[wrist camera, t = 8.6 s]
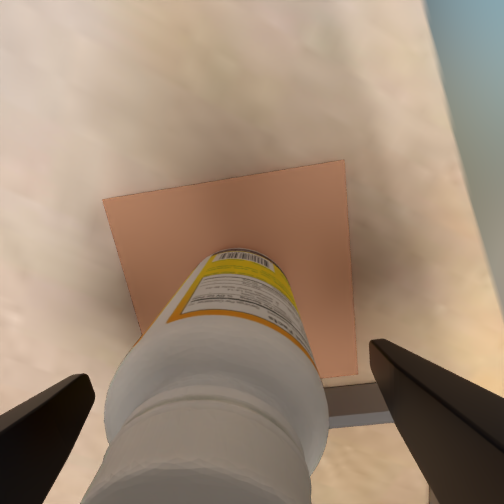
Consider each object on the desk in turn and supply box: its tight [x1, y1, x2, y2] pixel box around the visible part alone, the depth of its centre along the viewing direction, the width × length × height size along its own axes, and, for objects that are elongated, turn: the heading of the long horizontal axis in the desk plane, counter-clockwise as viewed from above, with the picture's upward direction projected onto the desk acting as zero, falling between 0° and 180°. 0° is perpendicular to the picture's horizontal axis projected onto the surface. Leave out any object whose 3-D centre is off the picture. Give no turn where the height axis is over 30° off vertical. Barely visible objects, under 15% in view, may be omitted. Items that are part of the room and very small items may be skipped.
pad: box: [102, 160, 358, 378], centre depth 14 cm, size 12×12×1 cm
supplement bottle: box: [80, 248, 329, 504], centre depth 9 cm, size 6×6×10 cm
